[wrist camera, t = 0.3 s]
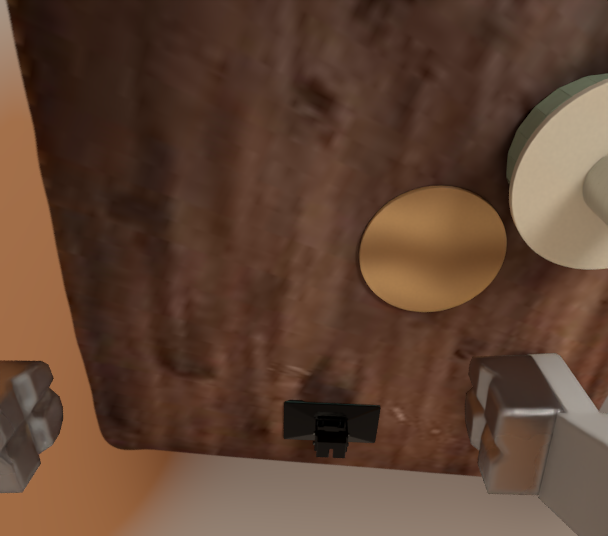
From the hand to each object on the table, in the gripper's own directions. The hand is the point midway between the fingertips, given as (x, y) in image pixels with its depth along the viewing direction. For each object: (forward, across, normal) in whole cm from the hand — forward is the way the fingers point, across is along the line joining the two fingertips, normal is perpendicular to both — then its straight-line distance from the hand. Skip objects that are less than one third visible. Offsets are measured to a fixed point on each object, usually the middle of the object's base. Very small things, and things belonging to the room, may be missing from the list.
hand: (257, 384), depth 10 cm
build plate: (+44, -1, +42) cm, 61 cm away
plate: (+34, -25, +7) cm, 43 cm away
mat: (+41, -12, +16) cm, 46 cm away
